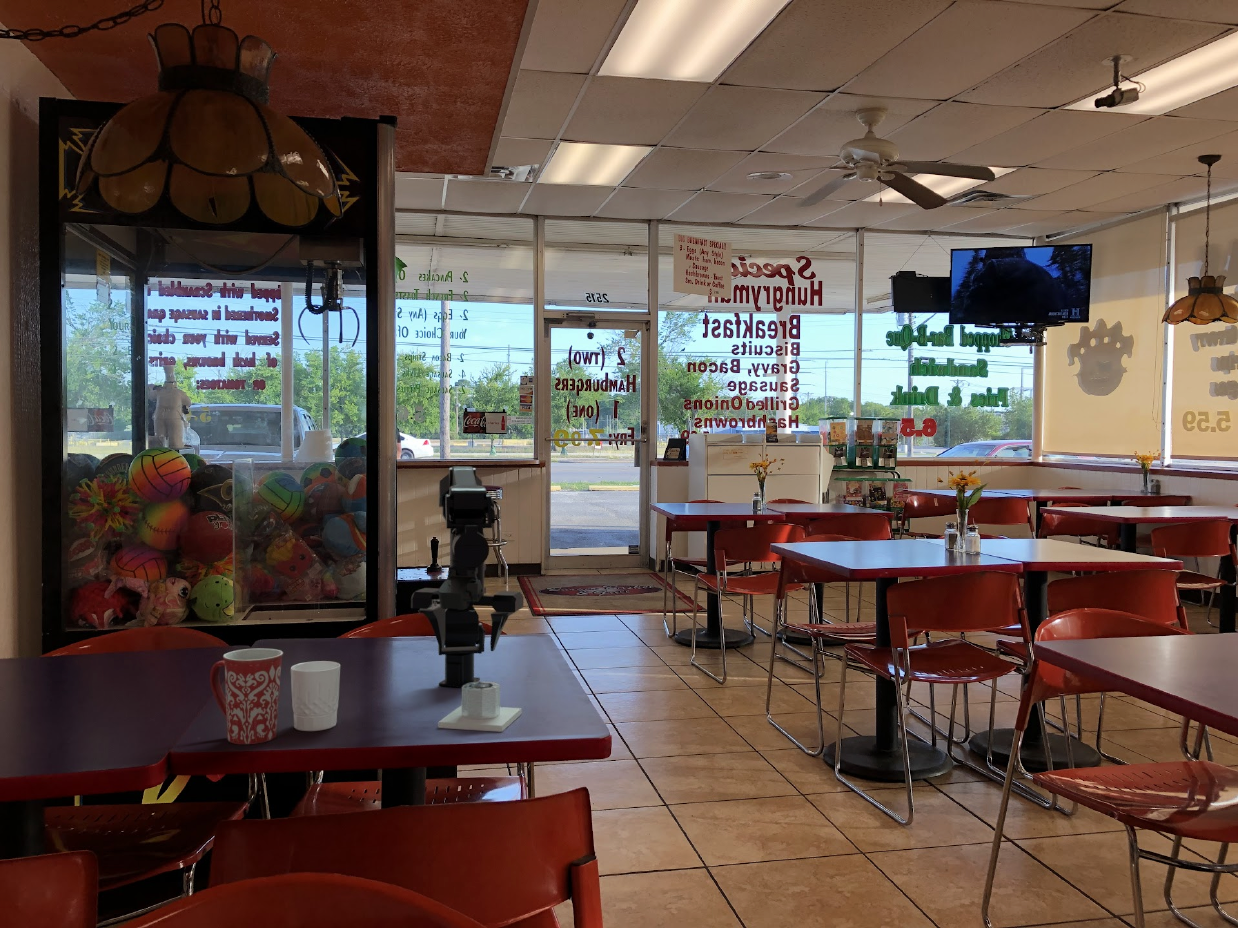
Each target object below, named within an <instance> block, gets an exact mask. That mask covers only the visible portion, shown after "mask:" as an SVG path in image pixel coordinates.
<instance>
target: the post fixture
mask: <svg viewBox="0 0 1238 928" xmlns="http://www.w3.org/2000/svg"><path fill="white" fill-rule="evenodd" d="M474 688H478V689H483V688H488V685H487V684H477V685H474ZM521 715H522V708H521V707H506V706H505V707H504V706H500V714H499V715H498V716H497V717H496V718H492V719H486V720H472V719H466V718H465V717H463V716H462V704H461V705H460V706H459V707H456V708H455V709H454V710H453V711H451V712H450V713H449V714H447V715H446V716H445V717H443V718H442V719H441V720H439V721H438V726H437V727H438V729H448V730H449V729H454V730H465V731H466V730H467V731H469V730H470V731H481V732H482V731H483V732H499V733H502V732H504V730H506V729H507V728H508V727H509V726H511V724H512V723H514V722H515V720H517V719H518V718H519V717H520V716H521Z"/></svg>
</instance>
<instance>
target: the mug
mask: <svg viewBox="0 0 1238 928" xmlns="http://www.w3.org/2000/svg"><path fill="white" fill-rule="evenodd" d="M283 656H284V651H282V650H281V649H276V648H263V647H262V648H261V647H260V648H246V649H245V648H244V649H236V650H233V651H229V652H227V653H224V654H223V656H222V659H223V660H219V661H217V662H215V663H214V664H213V665H212V667H211V669H210V674H209V675H210V676H209V682H210V683H209V684H210V688H211V692H212V694H213V697H214V698H215V701H216V703H217V705H218V708H219V709H220V711H221V712H222V714H223V715H224V717H225V719H226V733H227V735H226V736H227V741H228V742H229V743H231V744H235V745H254V744H255V745H256V744H261V743H265V742H269V741H271V740H274V739H275V738H276V737H277V730H278V715H279V714H278V713H279V701H280V700H279V699H280V687H281V686H280V684H281V671H282V658H283ZM222 667H224V681H225V683H224V686H225V694H224V692H223V689H222V686H221V682H220V681H221V680H220V671H221V668H222Z"/></svg>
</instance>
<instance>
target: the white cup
mask: <svg viewBox="0 0 1238 928" xmlns="http://www.w3.org/2000/svg"><path fill="white" fill-rule="evenodd" d="M340 676H341V664H340V663H339V662H336V661H330V660H328V661H327V660H321V661H320V660H319V661H318V660H316V661H315V660H314V661H307V662H300V663H297V664H294V665H292V666H291V667H290V683H291V684H290V685H291V699H292V700H291V701H292V703H291V704H292V705H291V706H292V711H293V727H294V728H295V729H296V730H298V731H301V732H317V731H323V730H328V729H329V730H330V729H332V728H334V727H335V726H336V725H337V722H338V719H337V716H338V709H339V697H340V679H341V677H340Z"/></svg>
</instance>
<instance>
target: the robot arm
mask: <svg viewBox="0 0 1238 928" xmlns="http://www.w3.org/2000/svg"><path fill="white" fill-rule="evenodd" d="M476 474H477V472H476V467H473V466H458V465H457V466H456V465H455V466H452V467H449V468H448V474H446V475H445V476H444V477H442V479H440V480H439V484H438V508H441V509H442V510H441V511H442V512H441V513H442V514H441V515H442V518H443V520H444V521H445V526H446V529H447V530H448V529H449V567H448V572H447V577H446V580H444V582H443V583H442V584H441V585H440V587H439V588H433V587H424V588H421V589H417V590H415V591H414V592H413V593H412V594H411V597H410V608H411V609H414V610H415V609H416V610H417V609H419V610H417V611H418V614H423V616H425V617H426V618H427V619H428V621H429V623H430V625H431V627H432V629H433V633H434V635H435V639H436V641H437V651H438V656H442V655H443V656H444V679H443V680H442V681H440V682H438V686H439V687H453V688H454V687H457V688H462V686H463V685H465V684H466V683H471V682H478V681H481V678H480V677H475V654H479V655H480V654H482V653H484V652H485V642H486V641H485V639H486V629H485V628H484V627H483V623H482V622H480V621H479V618H480V616H479V613H478V612H477V611H476V609H475V607H474V606H478V607H492V609H493V610H494V611H493V612H491V613H490V617H491V631H490V641H489V643H490V651H491V652H494V651H495V650H496V647H497V644H498V642H499V640H500V637H501V634H502V632H503V628H504V626H505V625H506V623H507V620H508V619H509V617H510V616H512V615H513V614H515V613H516V612H518V611H519V610H521V609H522V608H524V596H523V594H522V592H521V591H518V590H517V591H512V590H511V591H510V590H509V591H508V590H500V591H499V592H498V591H497V593H495V594H491V595H490V594H486V593H487V587H486V586H485V571H486V570H487V564H486V563H485V561H486V560H487V559H488V557H489V553H490V545H489V543H488V541H487V539H486V538H485V532H484V529H492V528H493V524H495V523H496V516H495V515H496V513H495V504H494V503H495V502H494V499H493V498H492V495H491V494H490V493H487V488H486V487H485V486H484V485H483V481H482V480H481V478H480V477H478V476H477V475H476Z"/></svg>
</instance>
